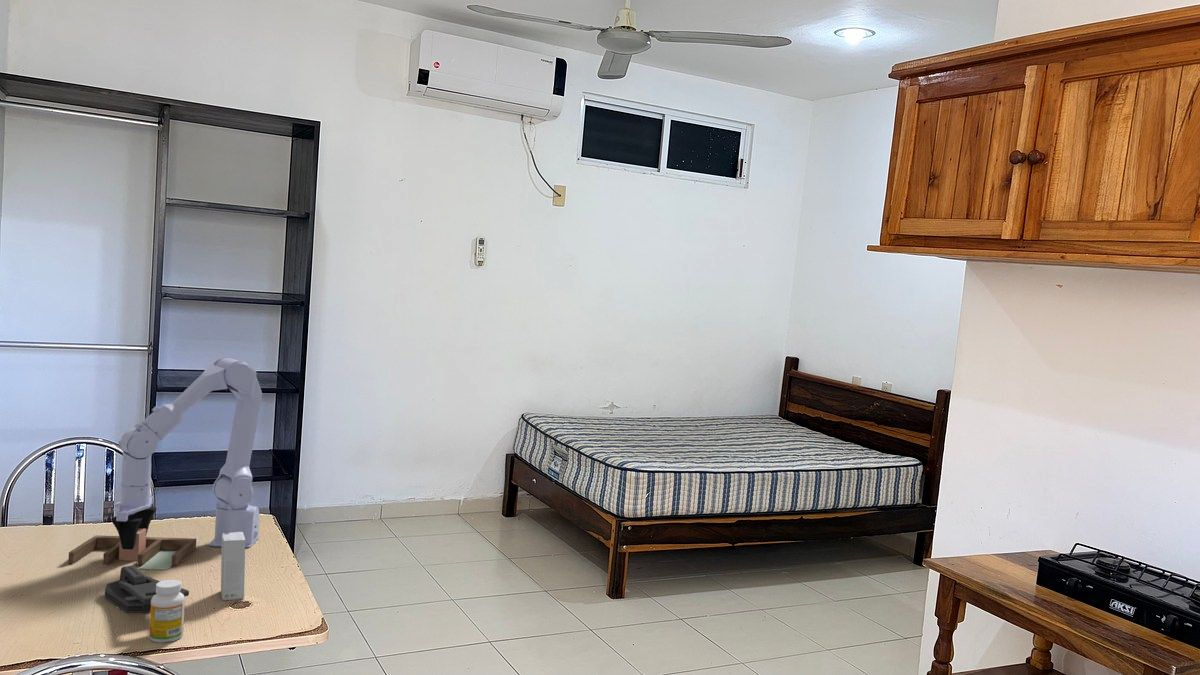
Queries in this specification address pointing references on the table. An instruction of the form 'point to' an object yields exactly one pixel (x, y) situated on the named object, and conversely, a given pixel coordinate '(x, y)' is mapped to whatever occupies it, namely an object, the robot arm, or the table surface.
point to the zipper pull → (133, 591)
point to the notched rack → (147, 558)
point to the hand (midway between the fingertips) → (133, 544)
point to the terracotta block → (138, 547)
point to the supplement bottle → (167, 612)
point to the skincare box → (232, 566)
